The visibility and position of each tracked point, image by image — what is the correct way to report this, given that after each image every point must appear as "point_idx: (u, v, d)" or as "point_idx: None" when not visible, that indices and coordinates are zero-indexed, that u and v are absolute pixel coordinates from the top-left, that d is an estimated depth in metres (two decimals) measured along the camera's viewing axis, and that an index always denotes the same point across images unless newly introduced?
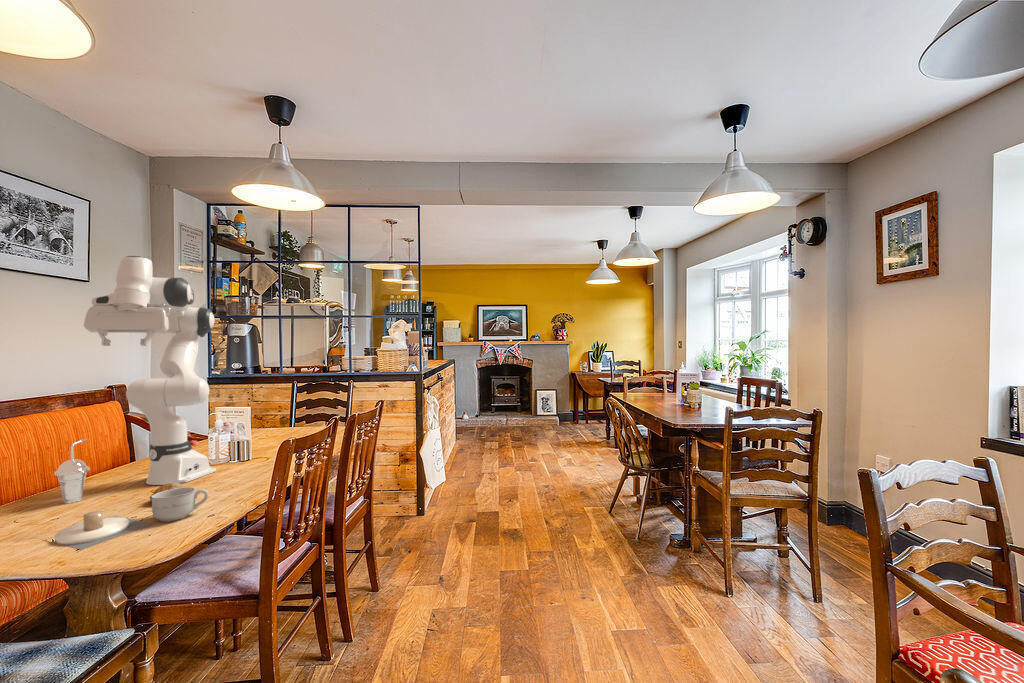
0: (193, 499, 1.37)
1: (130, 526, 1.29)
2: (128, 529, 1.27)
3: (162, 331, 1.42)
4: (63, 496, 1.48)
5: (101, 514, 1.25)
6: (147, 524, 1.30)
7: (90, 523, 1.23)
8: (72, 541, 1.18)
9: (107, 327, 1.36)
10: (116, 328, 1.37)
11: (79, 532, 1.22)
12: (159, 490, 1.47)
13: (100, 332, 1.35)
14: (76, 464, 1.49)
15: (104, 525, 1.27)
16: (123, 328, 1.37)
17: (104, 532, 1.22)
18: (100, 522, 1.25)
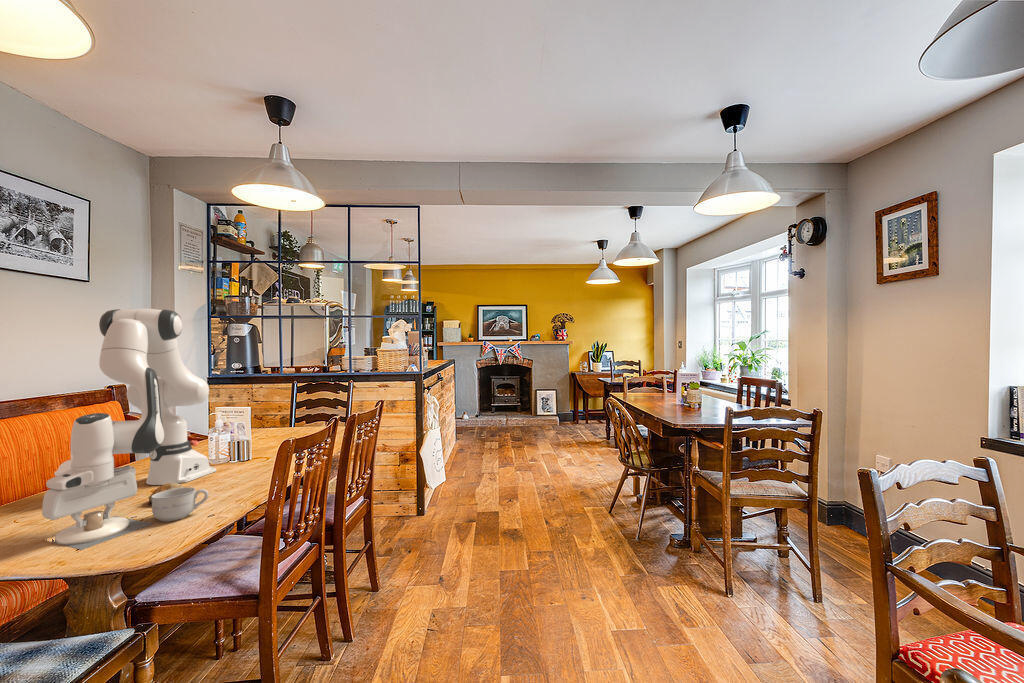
0: (193, 499, 1.37)
1: (130, 526, 1.29)
2: (128, 529, 1.27)
3: None
4: None
5: (101, 514, 1.25)
6: (147, 524, 1.30)
7: (90, 522, 1.23)
8: (72, 541, 1.18)
9: (78, 511, 1.20)
10: (87, 509, 1.22)
11: (79, 532, 1.22)
12: (158, 490, 1.46)
13: (77, 515, 1.21)
14: None
15: (104, 525, 1.27)
16: (95, 506, 1.24)
17: (104, 532, 1.22)
18: (101, 522, 1.25)
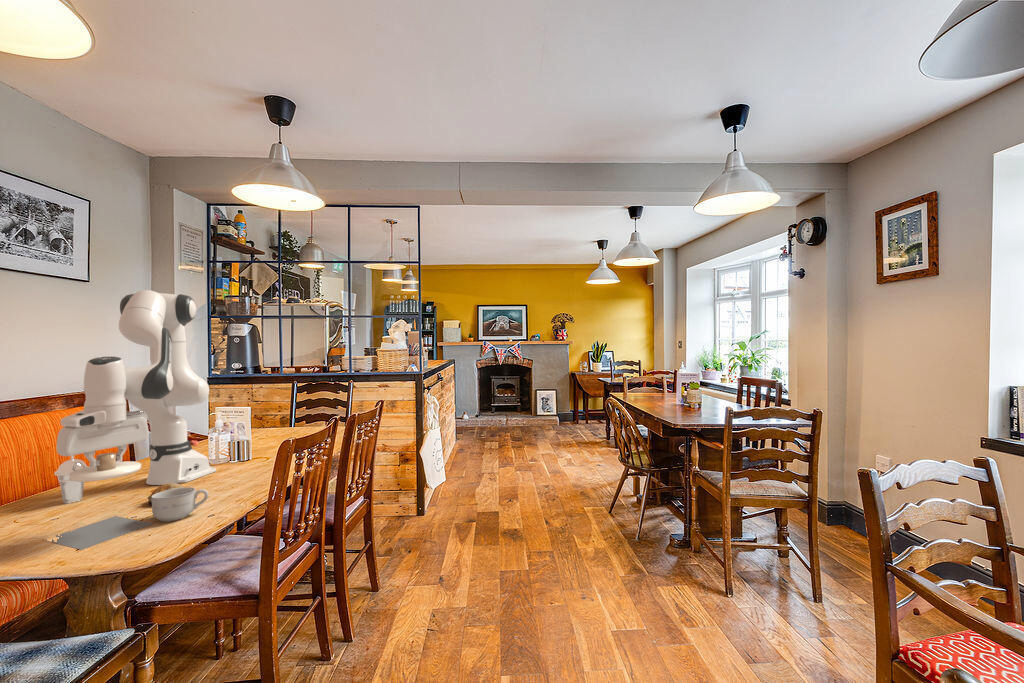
0: (193, 499, 1.37)
1: (130, 526, 1.29)
2: (128, 529, 1.27)
3: None
4: (63, 496, 1.48)
5: (114, 455, 1.27)
6: (147, 524, 1.30)
7: (103, 463, 1.25)
8: (85, 478, 1.19)
9: (91, 450, 1.22)
10: (100, 449, 1.24)
11: (92, 471, 1.24)
12: (157, 490, 1.46)
13: (91, 454, 1.22)
14: (76, 464, 1.49)
15: (117, 467, 1.28)
16: (108, 447, 1.26)
17: (117, 471, 1.24)
18: (113, 463, 1.27)
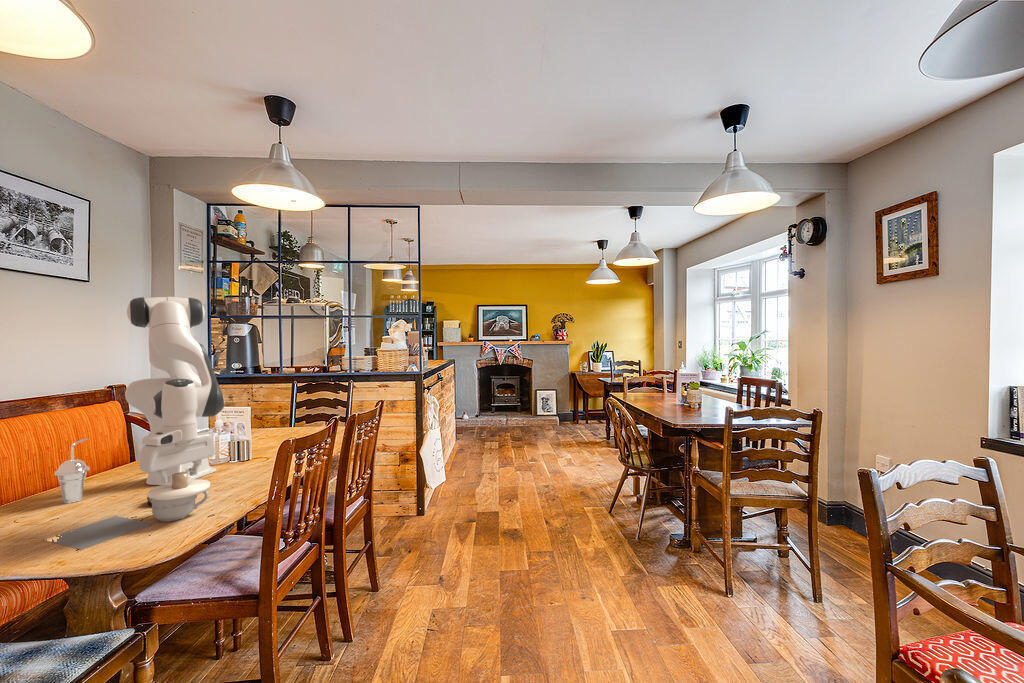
0: (193, 499, 1.37)
1: (130, 526, 1.29)
2: (128, 529, 1.27)
3: None
4: (63, 496, 1.48)
5: (187, 474, 1.37)
6: (147, 524, 1.30)
7: (178, 482, 1.34)
8: (165, 497, 1.29)
9: (169, 466, 1.32)
10: (176, 465, 1.34)
11: (168, 490, 1.34)
12: None
13: (163, 471, 1.31)
14: (76, 464, 1.49)
15: (189, 485, 1.38)
16: (182, 463, 1.35)
17: (192, 490, 1.33)
18: (186, 481, 1.36)
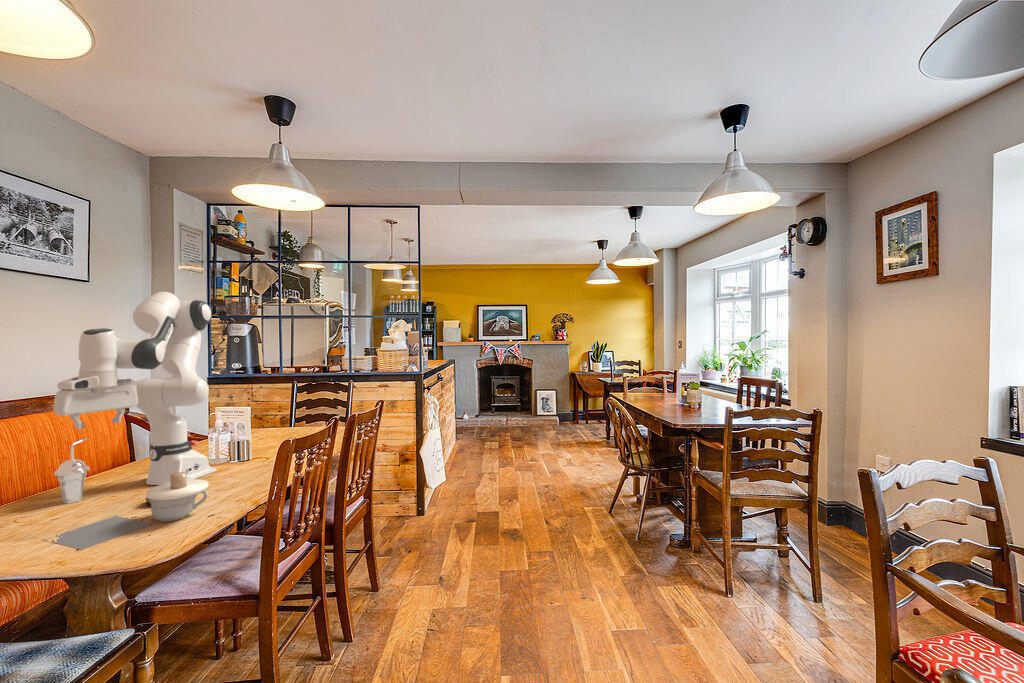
0: (192, 499, 1.37)
1: (130, 526, 1.29)
2: (128, 529, 1.27)
3: None
4: (63, 496, 1.48)
5: (185, 474, 1.37)
6: (147, 524, 1.30)
7: (177, 482, 1.34)
8: (164, 497, 1.29)
9: (85, 411, 1.35)
10: (93, 411, 1.37)
11: (167, 490, 1.34)
12: None
13: (76, 416, 1.33)
14: (76, 464, 1.49)
15: (187, 485, 1.38)
16: (100, 410, 1.38)
17: (191, 490, 1.34)
18: (185, 481, 1.36)
